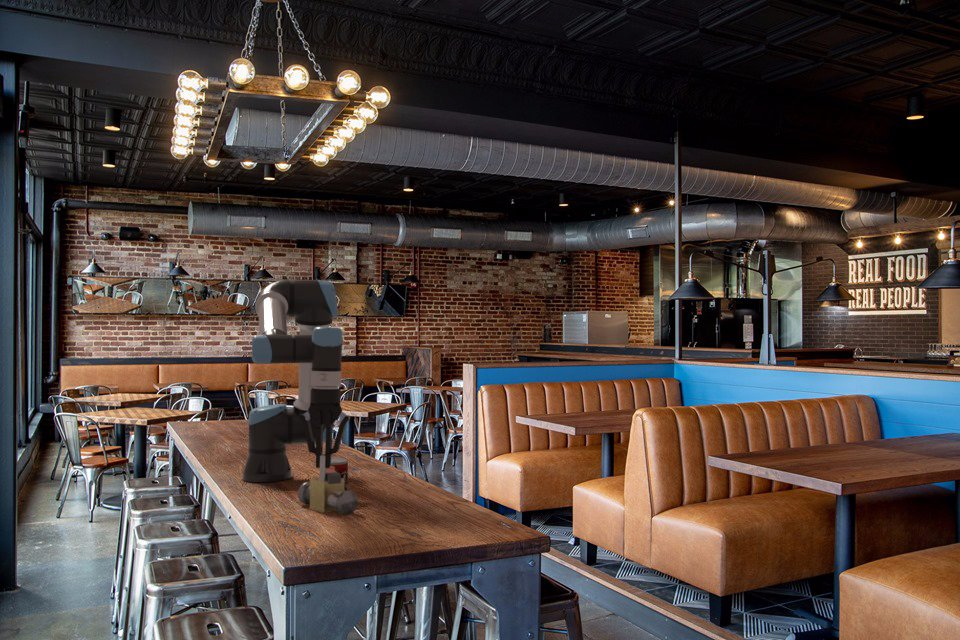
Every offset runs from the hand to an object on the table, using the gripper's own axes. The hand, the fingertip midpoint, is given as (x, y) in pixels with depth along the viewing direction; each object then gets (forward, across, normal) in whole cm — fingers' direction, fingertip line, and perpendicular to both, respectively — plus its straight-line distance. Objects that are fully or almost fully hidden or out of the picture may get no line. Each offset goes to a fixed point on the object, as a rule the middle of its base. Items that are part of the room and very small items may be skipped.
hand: (322, 480), depth 188 cm
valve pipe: (+9, 0, +9) cm, 13 cm away
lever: (0, +1, +4) cm, 4 cm away
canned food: (+9, -1, +20) cm, 22 cm away
